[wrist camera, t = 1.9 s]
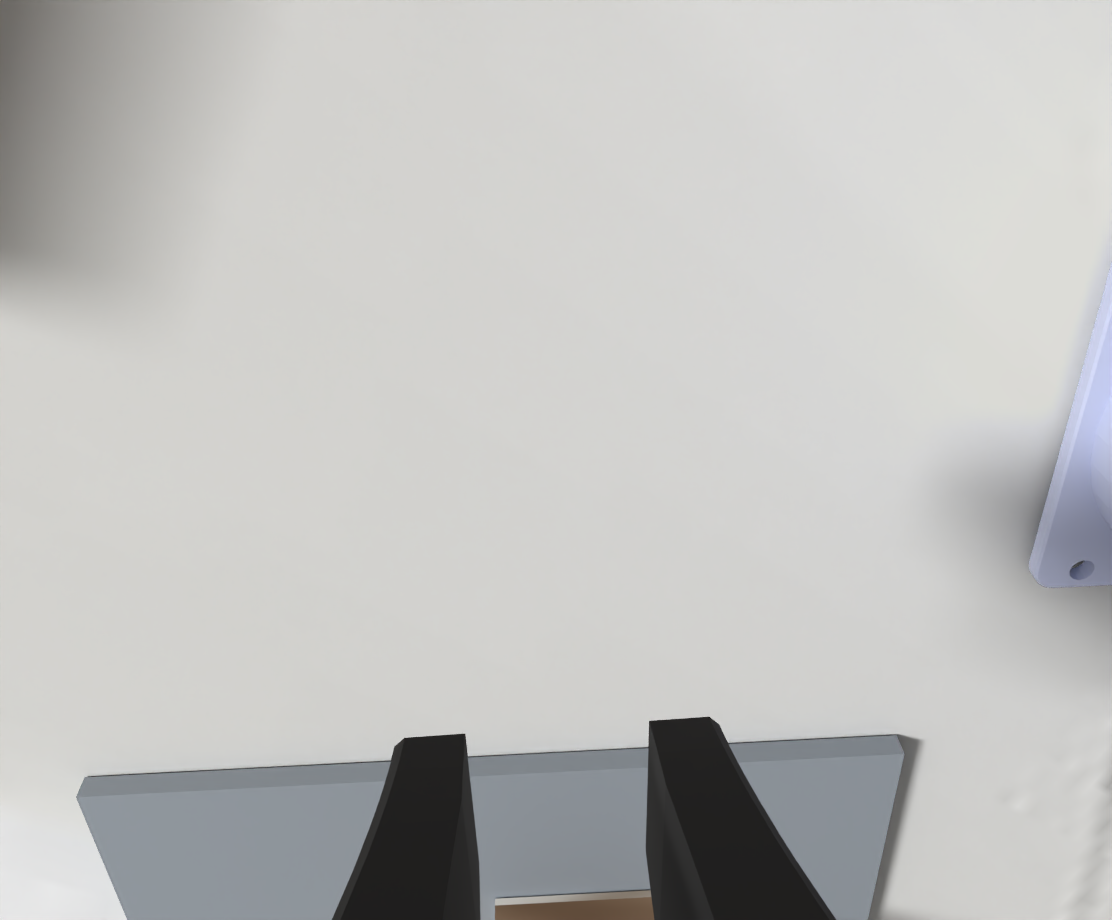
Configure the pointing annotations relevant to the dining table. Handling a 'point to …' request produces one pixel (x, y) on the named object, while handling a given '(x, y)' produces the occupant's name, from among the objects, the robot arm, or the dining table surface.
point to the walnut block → (578, 907)
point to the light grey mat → (500, 820)
